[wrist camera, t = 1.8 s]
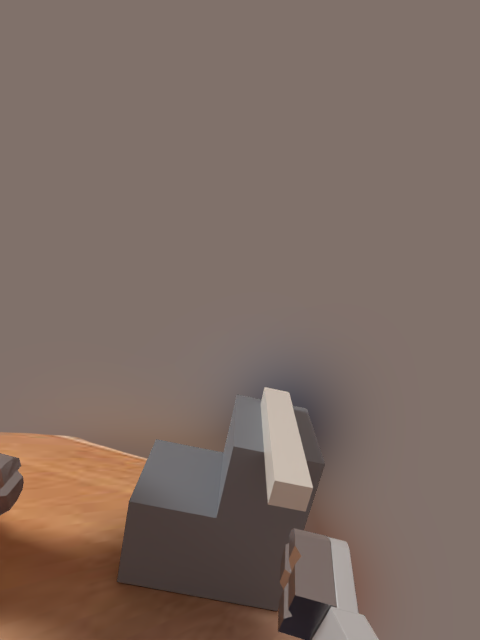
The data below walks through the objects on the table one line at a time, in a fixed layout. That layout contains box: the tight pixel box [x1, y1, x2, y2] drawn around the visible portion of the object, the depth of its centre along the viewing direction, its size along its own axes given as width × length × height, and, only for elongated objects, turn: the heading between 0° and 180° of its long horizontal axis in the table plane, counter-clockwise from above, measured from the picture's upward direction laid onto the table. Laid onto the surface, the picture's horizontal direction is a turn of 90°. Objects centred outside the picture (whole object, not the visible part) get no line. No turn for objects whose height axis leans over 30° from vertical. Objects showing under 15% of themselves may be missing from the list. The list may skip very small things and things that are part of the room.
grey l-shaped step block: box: [117, 395, 325, 611], centre depth 53 cm, size 24×14×26 cm, turn 89°
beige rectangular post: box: [261, 387, 313, 512], centre depth 45 cm, size 4×21×3 cm, turn 178°
